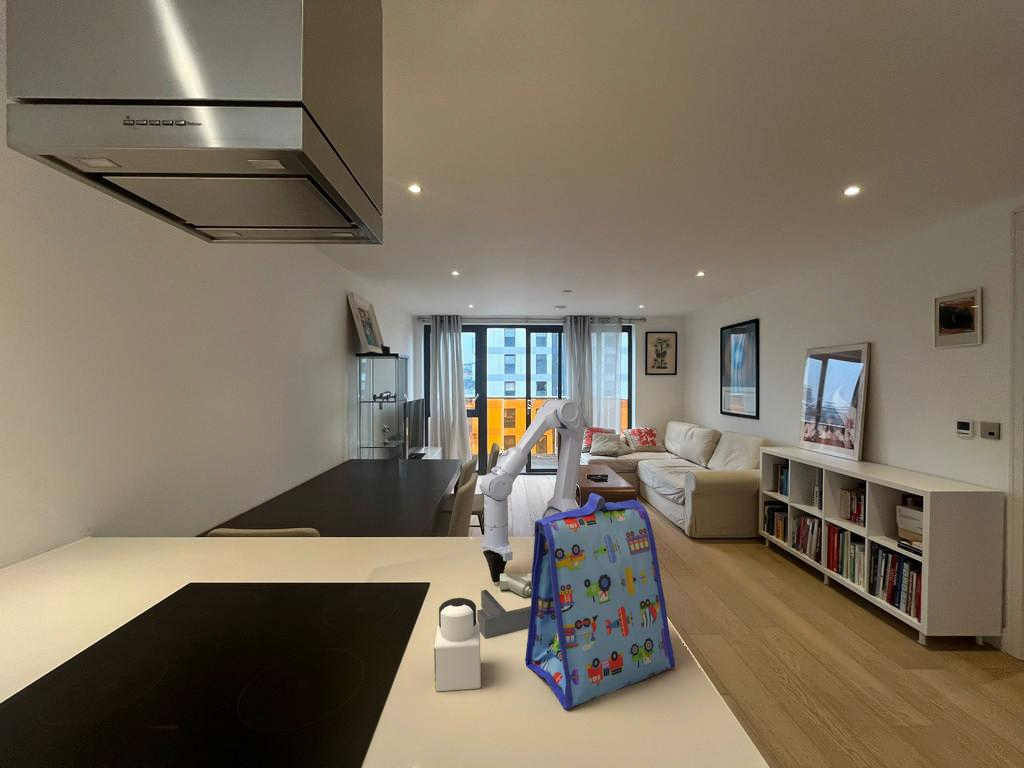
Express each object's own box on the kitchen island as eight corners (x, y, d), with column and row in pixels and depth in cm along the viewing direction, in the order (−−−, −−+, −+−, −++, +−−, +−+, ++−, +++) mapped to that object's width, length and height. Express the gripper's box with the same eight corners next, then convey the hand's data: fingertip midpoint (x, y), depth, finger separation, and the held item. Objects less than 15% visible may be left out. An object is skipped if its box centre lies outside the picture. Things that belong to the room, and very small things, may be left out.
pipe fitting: (535, 601, 102) (534, 585, 109) (534, 584, 102) (534, 569, 109) (499, 601, 103) (500, 586, 109) (498, 584, 102) (500, 570, 109)
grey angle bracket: (555, 590, 107) (554, 575, 107) (584, 613, 95) (583, 596, 96) (464, 610, 98) (464, 594, 98) (485, 638, 86) (484, 620, 86)
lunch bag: (622, 633, 88) (620, 481, 88) (678, 671, 76) (674, 495, 76) (522, 665, 78) (520, 495, 78) (568, 715, 66) (564, 513, 66)
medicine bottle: (438, 665, 78) (437, 594, 79) (480, 662, 79) (479, 592, 79) (434, 692, 71) (433, 614, 71) (480, 689, 72) (479, 612, 72)
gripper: (470, 518, 115) (471, 573, 115) (491, 535, 102) (492, 596, 102) (496, 515, 118) (497, 568, 118) (520, 530, 105) (521, 590, 105)
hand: (497, 581), depth 110 cm, fingers closed
